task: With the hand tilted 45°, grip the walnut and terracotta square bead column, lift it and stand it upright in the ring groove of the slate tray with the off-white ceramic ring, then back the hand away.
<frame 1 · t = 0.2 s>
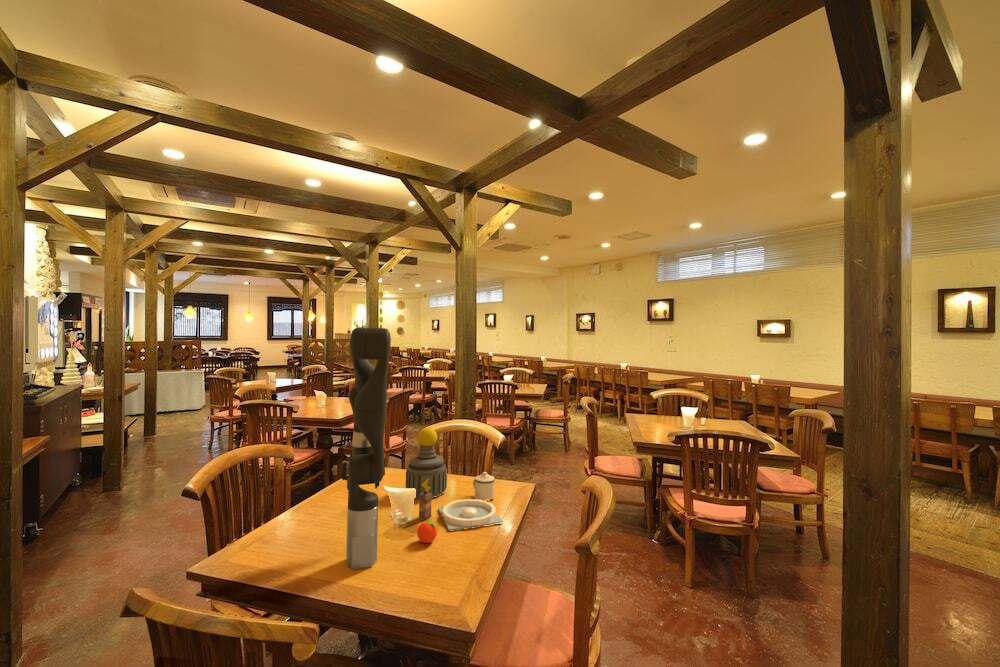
hand: (363, 489, 140), 18 cm above the table, tool pointing down, fingers open, 8 cm apart
clementine: (428, 542, 139), on the table
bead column: (425, 518, 159), on the table
teacup with lid: (482, 498, 181), on the table
decorative lamp: (426, 492, 187), on the table
groove dish: (469, 516, 161), on the table
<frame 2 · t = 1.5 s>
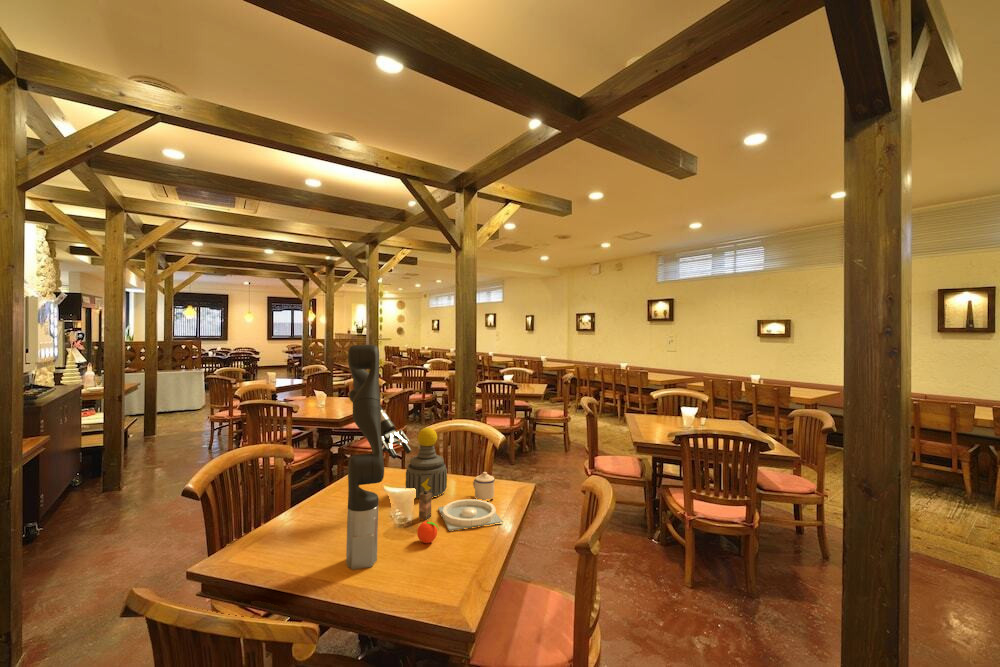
hand: (402, 454, 165), 23 cm above the table, tool tilted 45°, fingers open, 8 cm apart
nothing on the table moved.
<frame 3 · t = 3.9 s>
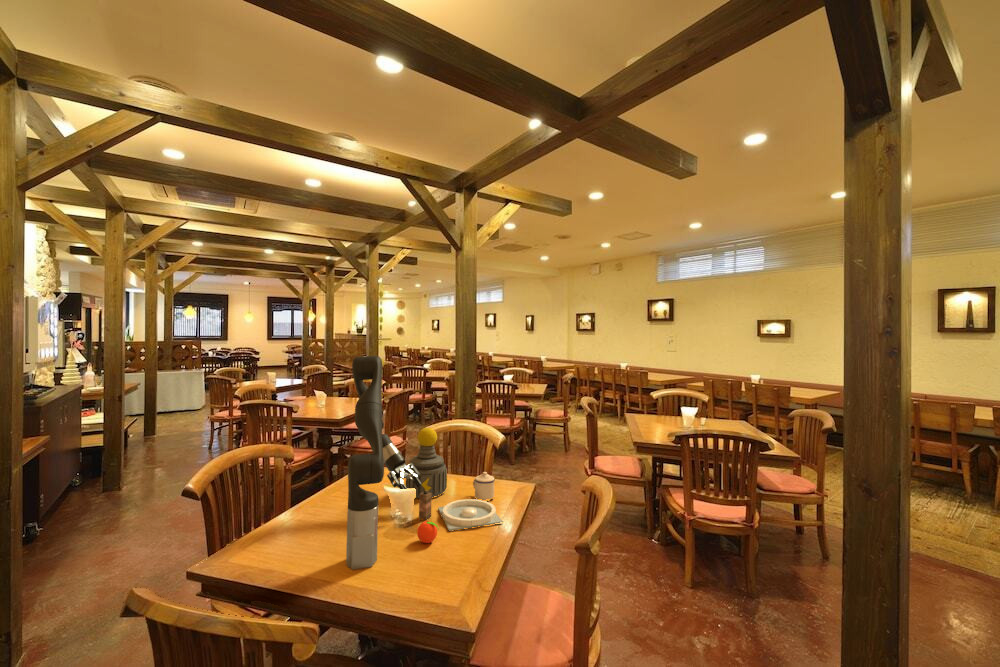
hand: (413, 489, 162), 10 cm above the table, tool tilted 45°, fingers open, 8 cm apart
nothing on the table moved.
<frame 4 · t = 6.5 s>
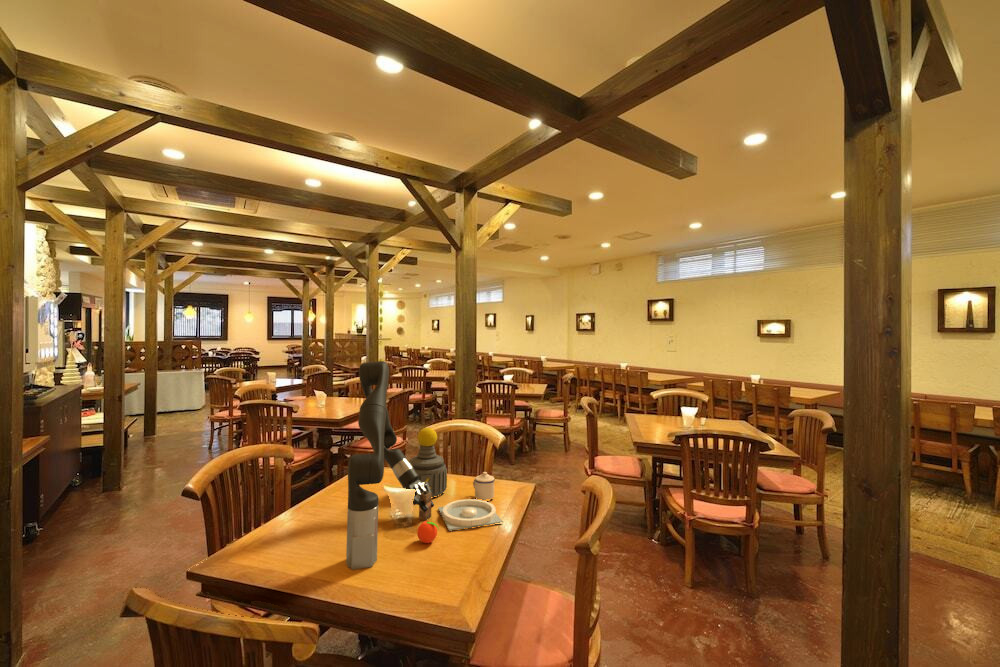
hand: (429, 508, 158), 4 cm above the table, tool tilted 45°, fingers closed on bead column, 3 cm apart
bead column: (425, 518, 159), on the table, touching gripper
everything else where it was.
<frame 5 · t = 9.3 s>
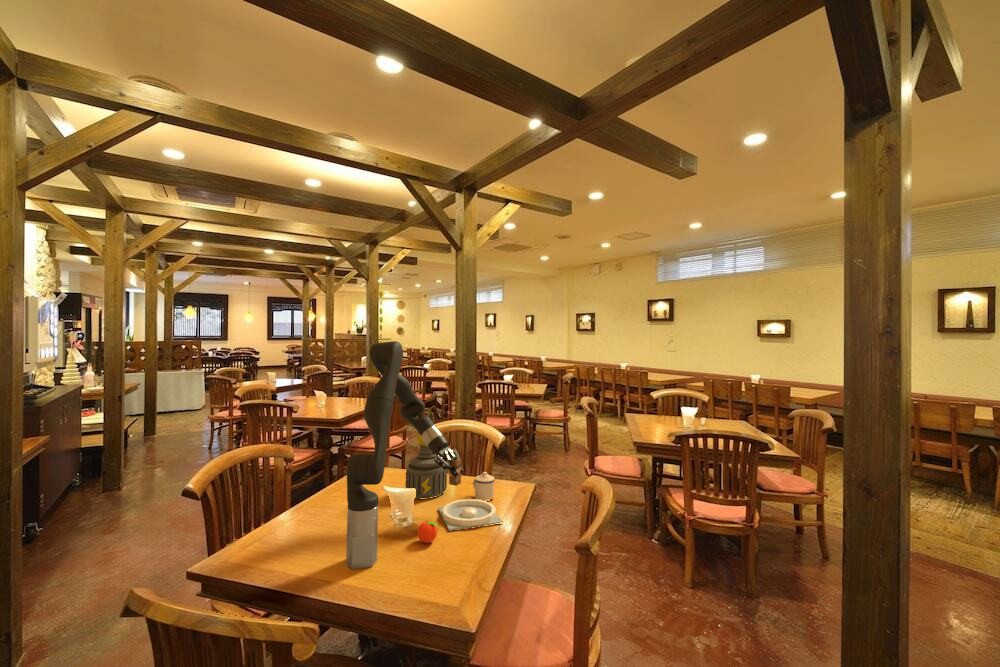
hand: (459, 474, 159), 18 cm above the table, tool tilted 45°, fingers closed on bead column, 3 cm apart
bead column: (454, 483, 159), point 14 cm above the table, touching gripper
everything else where it was.
when the fingers open (6 cm above the table, at t = 12.6 s): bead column stays where it is, resting on groove dish.
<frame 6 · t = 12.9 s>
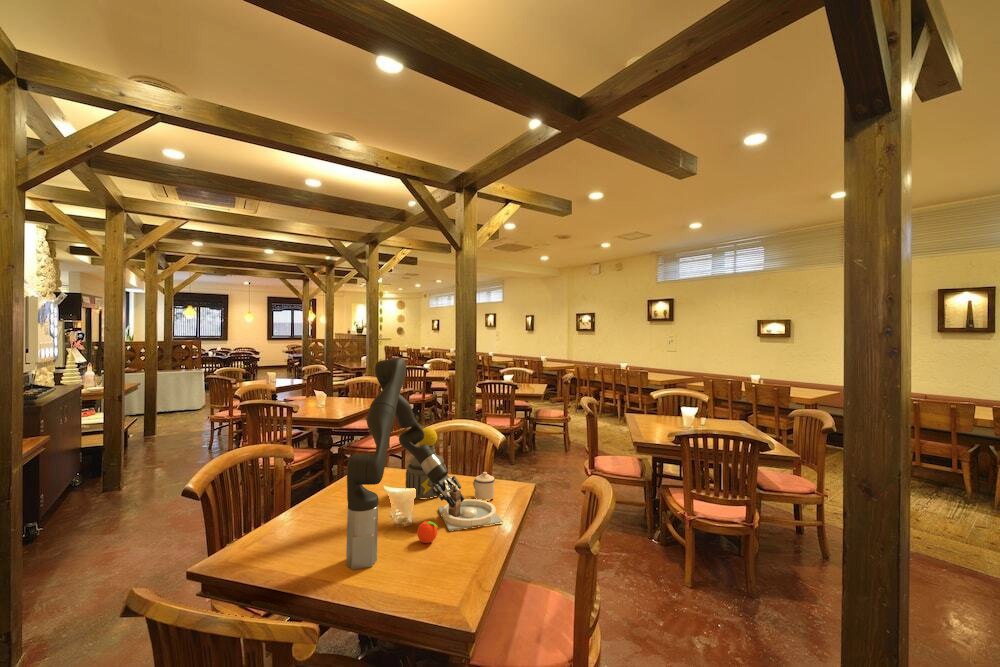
hand: (458, 503, 158), 6 cm above the table, tool tilted 45°, fingers open, 6 cm apart
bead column: (454, 516, 159), point 1 cm above the table, touching groove dish
everything else where it was.
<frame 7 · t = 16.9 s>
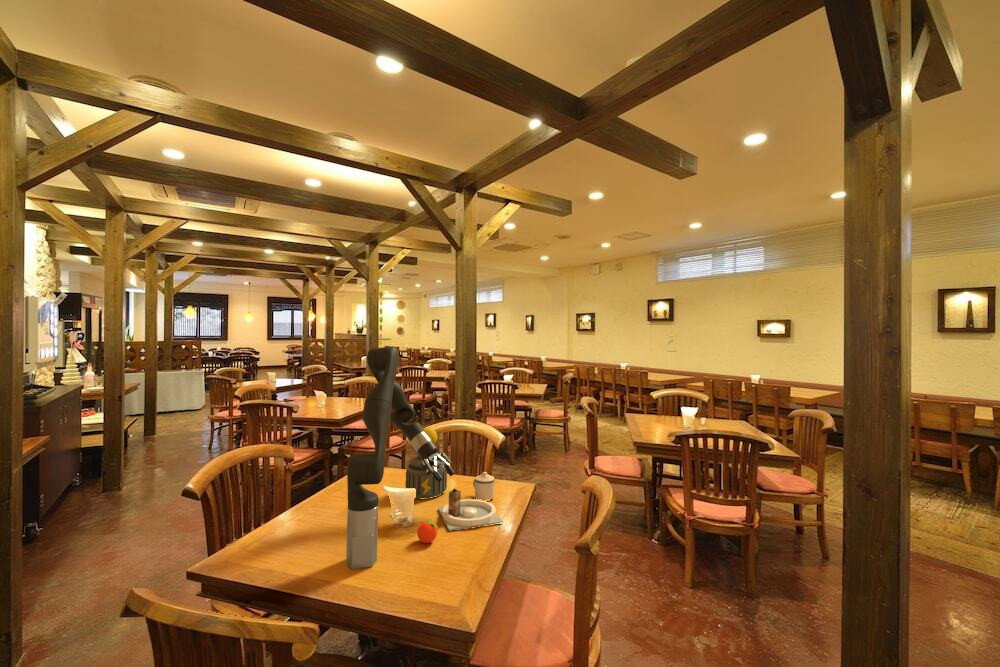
hand: (446, 477, 161), 15 cm above the table, tool tilted 45°, fingers open, 8 cm apart
nothing on the table moved.
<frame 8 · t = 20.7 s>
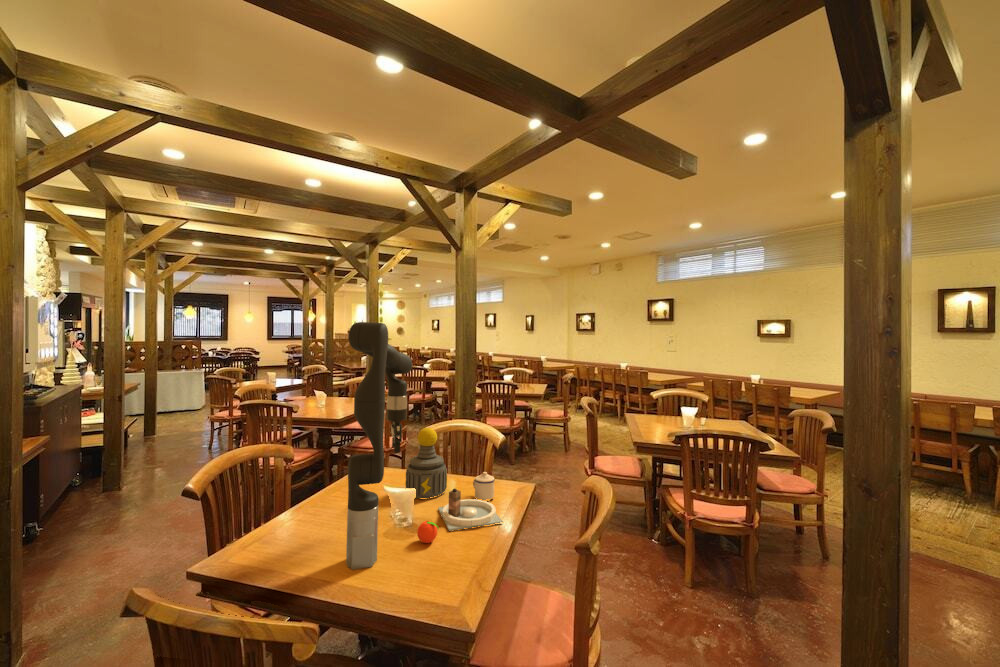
hand: (396, 449, 154), 28 cm above the table, tool pointing down, fingers open, 8 cm apart
nothing on the table moved.
at the end: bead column 0.1 cm from the target spot on the groove dish, point 1.0 cm above the groove dish's base; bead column tilted 0°; the gripper is holding nothing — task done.
